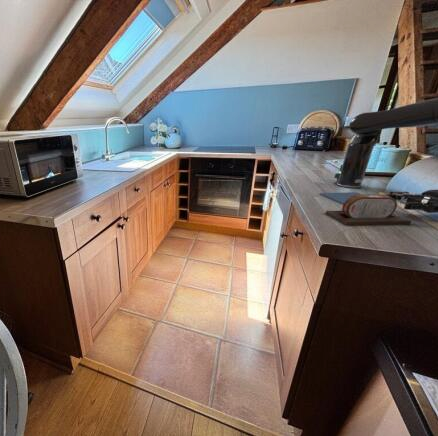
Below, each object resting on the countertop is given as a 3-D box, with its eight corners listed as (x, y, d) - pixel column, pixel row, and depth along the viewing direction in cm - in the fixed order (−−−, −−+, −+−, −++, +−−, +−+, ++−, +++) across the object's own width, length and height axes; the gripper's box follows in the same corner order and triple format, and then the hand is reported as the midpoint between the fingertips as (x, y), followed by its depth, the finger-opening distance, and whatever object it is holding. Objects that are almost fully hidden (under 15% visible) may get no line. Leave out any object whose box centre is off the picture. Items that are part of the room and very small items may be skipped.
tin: (385, 217, 83) (395, 193, 79) (393, 221, 80) (403, 196, 77) (338, 216, 84) (345, 193, 81) (344, 220, 81) (352, 196, 78)
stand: (325, 213, 87) (326, 210, 86) (382, 213, 86) (383, 209, 86) (346, 225, 78) (347, 221, 77) (410, 224, 77) (411, 221, 77)
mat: (320, 194, 108) (320, 193, 108) (356, 193, 108) (356, 192, 108) (343, 204, 95) (343, 203, 95) (384, 203, 95) (384, 202, 95)
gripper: (425, 184, 84) (378, 185, 85) (476, 196, 71) (420, 197, 71) (417, 204, 87) (371, 205, 87) (464, 220, 74) (410, 220, 74)
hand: (393, 201), depth 79 cm, fingers open, 8 cm apart
